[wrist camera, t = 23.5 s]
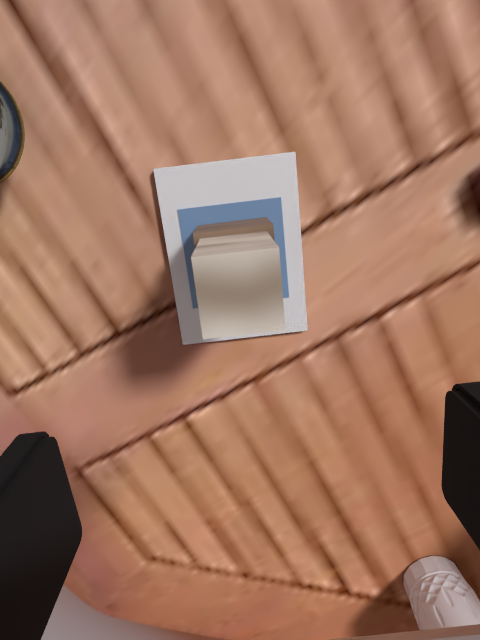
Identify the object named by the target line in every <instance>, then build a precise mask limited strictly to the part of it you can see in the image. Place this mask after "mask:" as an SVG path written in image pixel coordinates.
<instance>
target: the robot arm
mask: <svg viewBox="0 0 480 640" xmlns="http://www.w3.org/2000/svg"><path fill="white" fill-rule="evenodd" d="M442 491H443V494H444V497H445V499H446V501H447V503H448V504H449V506H450V507H451V509H452V510H453V511H454V513H455V514H456V516H457V517H458V519H459V520H460V522H461V523H462V525H463V526H464V528H465V529H466V531H467V532H468V533H469V535H470V536H471V538H472V539H473V541H474V542H475V544H476V545H477V547H478V548H479V550H480V382H471V383H462V384H455V385H454V386H453V388H452V391H448V392H447V393H446V397H445V418H444V442H443V465H442ZM81 537H82V527H81V522H80V519H79V515H78V512H77V509H76V505H75V502H74V498H73V495H72V491H71V488H70V485H69V481H68V478H67V474H66V471H65V467H64V464H63V460H62V457H61V454H60V450H59V447H58V443H57V441H56V439H55V438H54V437H49V435H48V434H47V433H46V432H35V433H27V434H20V435H18V436H17V437H16V438H15V439H14V440H13V442H12V443H11V444H10V445H9V446H8V448H7V449H6V450H5V451H4V453H3V454H2V455H1V456H0V640H41V637H42V635H43V632H44V630H45V628H46V625H47V623H48V620H49V618H50V615H51V613H52V610H53V608H54V605H55V603H56V601H57V598H58V596H59V593H60V591H61V588H62V586H63V583H64V581H65V579H66V576H67V574H68V571H69V569H70V566H71V564H72V561H73V559H74V556H75V554H76V552H77V549H78V547H79V544H80V541H81ZM331 640H480V624H476V625H466V626H457V627H447V628H437V629H427V630H418V631H408V632H398V633H388V634H379V635H369V636H359V637H350V638H340V639H331Z"/></svg>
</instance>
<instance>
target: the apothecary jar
mask: <svg viewBox="0 0 480 640" xmlns="http://www.w3.org/2000/svg"><path fill="white" fill-rule="evenodd" d="M23 147H24V126H23V120H22V117H21V114H20V111H19V109H18V107H17V104H16V102H15V100H14V98H13V97H12V95H11V94H10V92H9V91H8V90H7V89H6V87H5V86H4V85H3V84H2V83H1V82H0V182H1V181H3V180H4V179H6V178H7V177H8V176H9V175H10V174H11V173H12V172H13V171H14V169H15V168H16V166H17V164H18V162H19V160H20V158H21V155H22V151H23Z"/></svg>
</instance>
